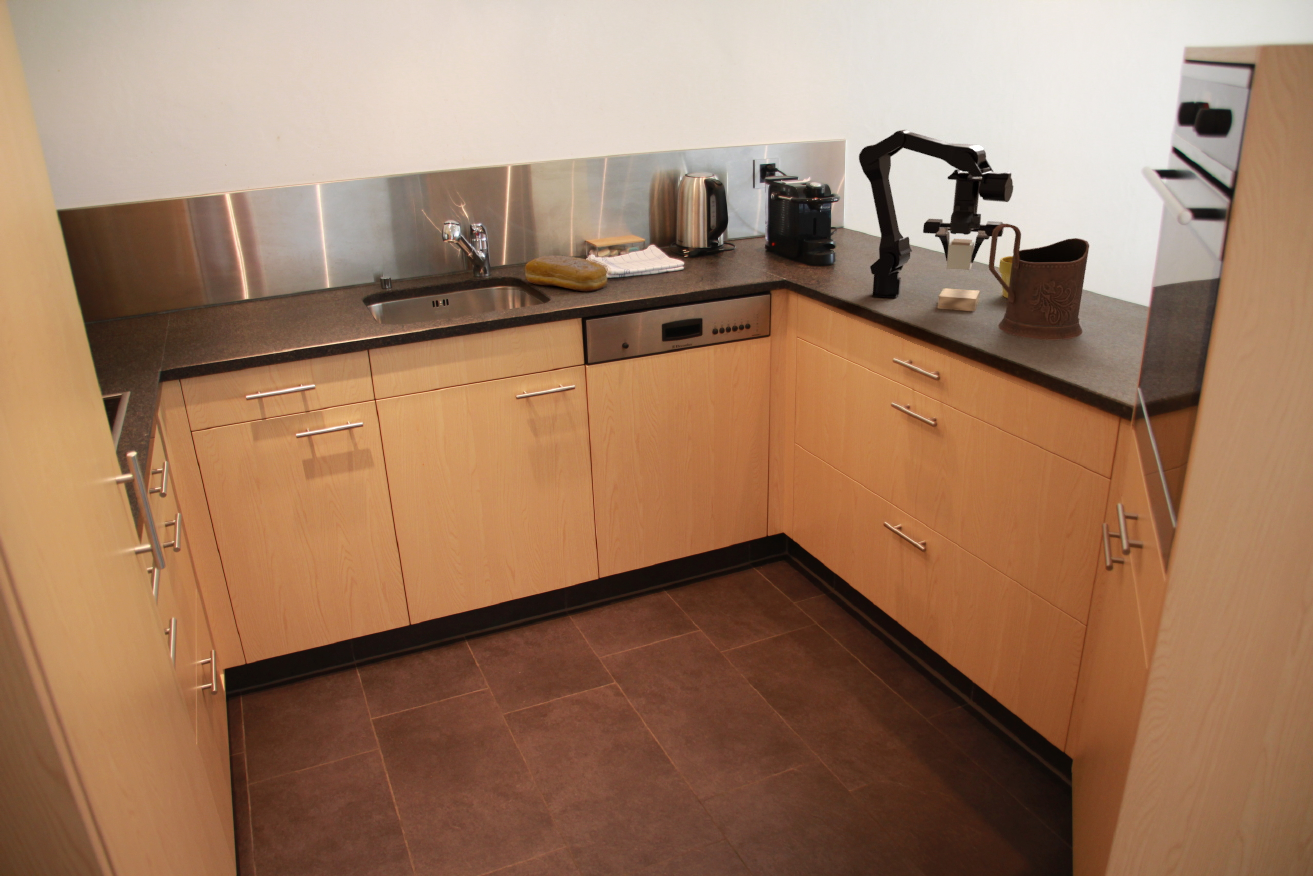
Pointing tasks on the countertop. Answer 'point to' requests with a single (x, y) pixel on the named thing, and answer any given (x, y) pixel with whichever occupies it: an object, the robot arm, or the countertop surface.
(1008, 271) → the plant pot
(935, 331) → the countertop surface
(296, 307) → the countertop surface
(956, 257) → the cream lidded box
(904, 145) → the robot arm
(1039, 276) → the cup holder
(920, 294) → the countertop surface
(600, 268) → the bread
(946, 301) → the beech block
